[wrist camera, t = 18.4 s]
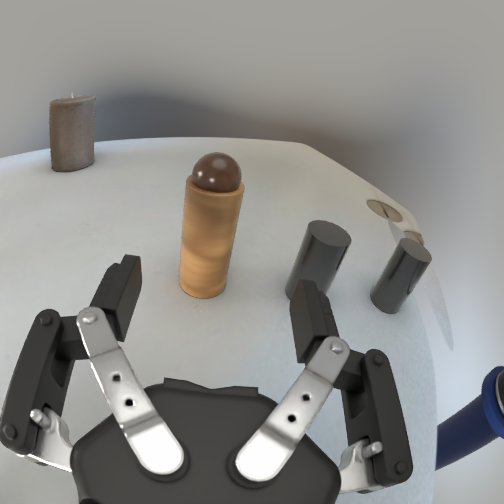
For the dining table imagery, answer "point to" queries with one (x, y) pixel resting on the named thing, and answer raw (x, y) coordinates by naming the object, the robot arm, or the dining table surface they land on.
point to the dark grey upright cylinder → (400, 275)
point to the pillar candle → (72, 132)
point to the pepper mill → (209, 224)
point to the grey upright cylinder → (319, 255)
